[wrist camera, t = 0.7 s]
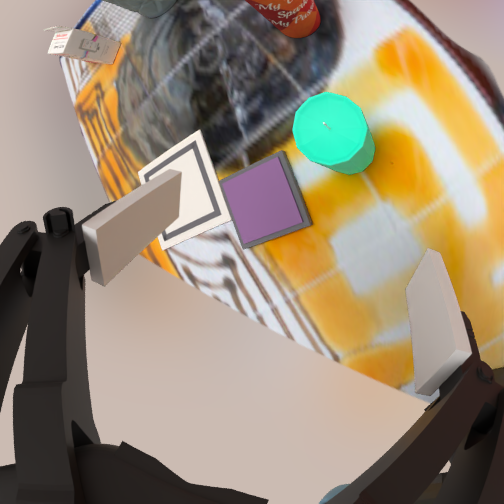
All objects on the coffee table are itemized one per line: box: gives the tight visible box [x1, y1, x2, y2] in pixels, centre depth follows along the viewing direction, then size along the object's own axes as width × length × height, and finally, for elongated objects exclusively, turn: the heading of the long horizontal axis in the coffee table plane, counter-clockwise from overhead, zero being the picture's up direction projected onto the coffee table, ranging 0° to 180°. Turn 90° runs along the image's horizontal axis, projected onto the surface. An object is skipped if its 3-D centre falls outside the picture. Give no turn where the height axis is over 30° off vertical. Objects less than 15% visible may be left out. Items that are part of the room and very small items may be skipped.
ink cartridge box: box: [44, 26, 121, 64], centre depth 38 cm, size 9×5×15 cm, turn 68°
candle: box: [293, 92, 375, 175], centre depth 25 cm, size 6×6×12 cm
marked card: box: [138, 130, 232, 250], centre depth 41 cm, size 13×13×1 cm
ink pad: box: [218, 150, 313, 249], centre depth 35 cm, size 9×9×1 cm
